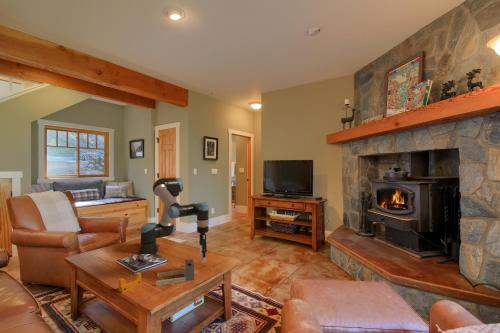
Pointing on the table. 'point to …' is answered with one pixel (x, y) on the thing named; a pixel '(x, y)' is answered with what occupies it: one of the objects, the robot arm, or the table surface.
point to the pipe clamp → (128, 286)
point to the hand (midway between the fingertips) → (202, 258)
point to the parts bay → (170, 281)
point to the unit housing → (189, 269)
